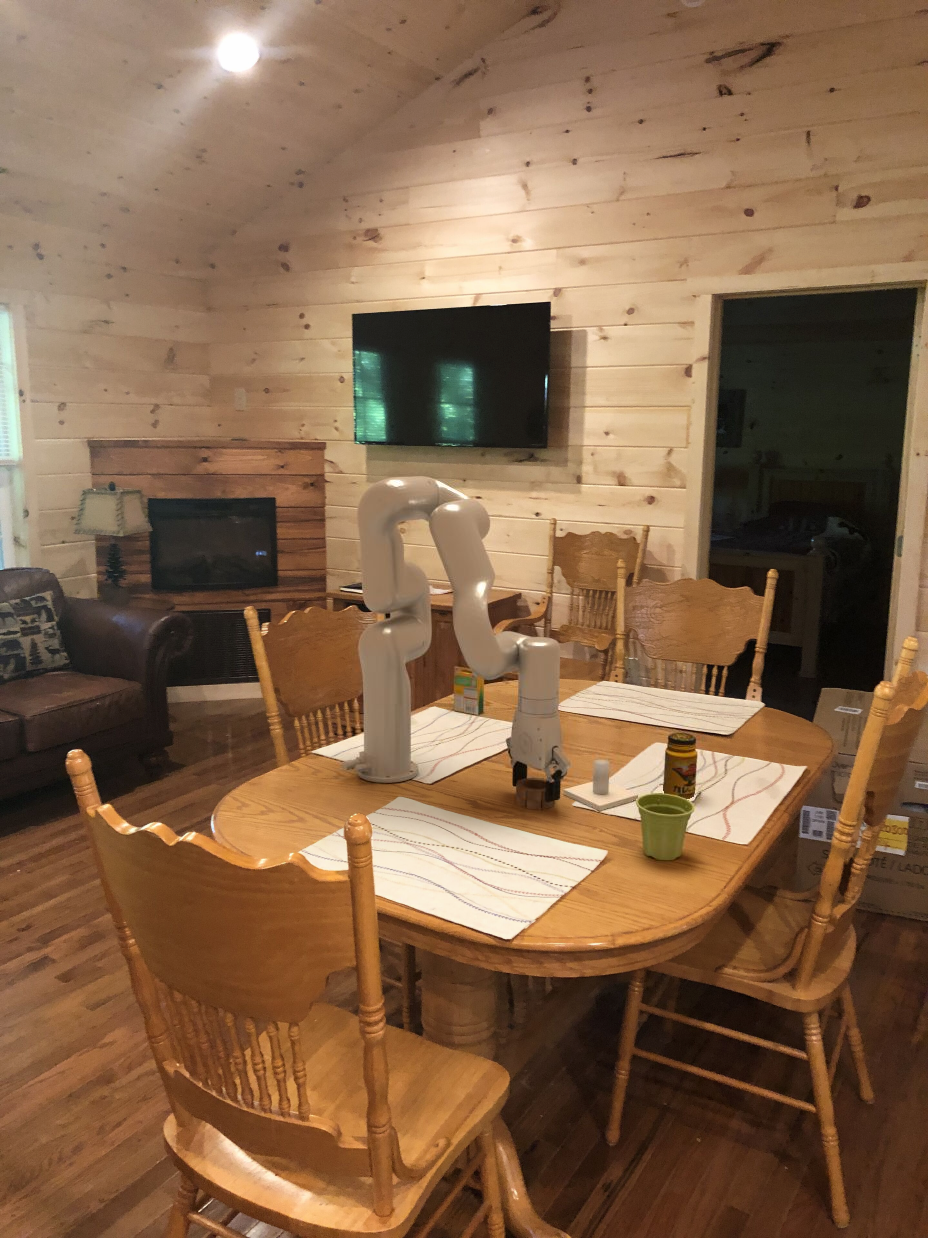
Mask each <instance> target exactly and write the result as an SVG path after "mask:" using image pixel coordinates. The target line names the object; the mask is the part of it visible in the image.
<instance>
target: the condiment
mask: <svg viewBox="0 0 928 1238" xmlns="http://www.w3.org/2000/svg"><path fill="white" fill-rule="evenodd" d="M696 743H697V738H696V737H695V736H694V735H692V734H690V733H687V732H685V733H684V732H673V733H670V734H669V735H668V737H667V743H666V748H665V750H664V752H665V753H664V765H663V766H664V770H663V783H661V782H659V783H660V784H659V783H658V784H659V785H663V791H664V794H670V795H676V796H679V797H682V798H685V799H690V798H692V797H694V794H695V791H696V784H697V782H696V779H697V767H698V766H697V763H698V751H697V744H696Z"/></svg>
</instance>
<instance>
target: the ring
mask: <svg viewBox="0 0 928 1238" xmlns="http://www.w3.org/2000/svg"><path fill="white" fill-rule="evenodd" d="M546 781H548V779H547V778H544V777H527V778H525V779H521V780H518V781H517V784H516V787H515V804H516V805H518V806H520V807H522V808H523V809H527V810H537V811H538V810H540V811H541V810H547V809H550V808H553V807H554V806H555V803H556V801H552V802H549V803H548V802H546V801H545V783H546Z"/></svg>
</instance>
